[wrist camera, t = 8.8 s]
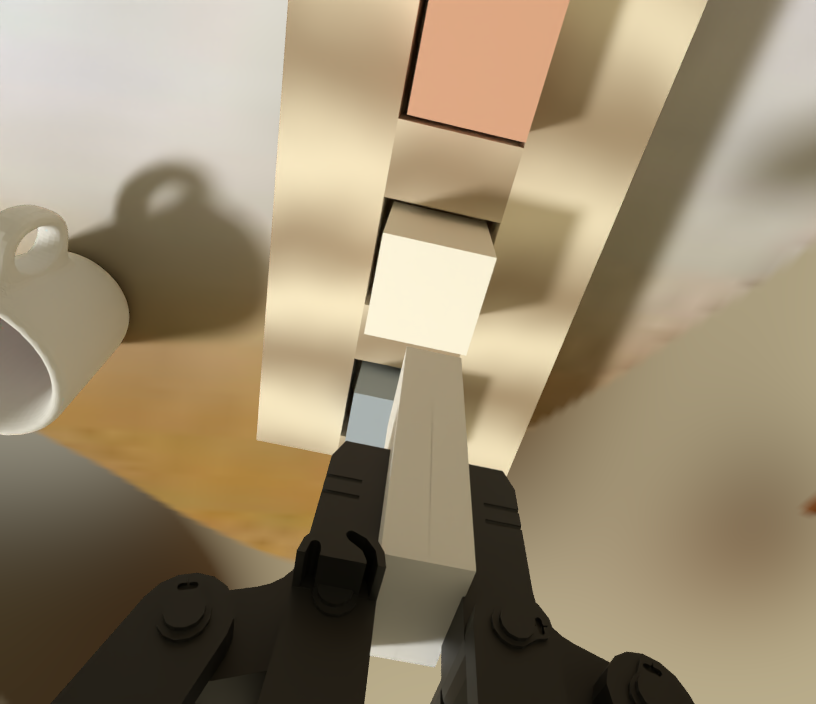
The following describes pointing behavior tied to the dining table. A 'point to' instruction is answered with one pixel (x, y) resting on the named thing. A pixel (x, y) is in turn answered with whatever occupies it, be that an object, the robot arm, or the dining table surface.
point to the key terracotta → (485, 63)
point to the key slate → (372, 404)
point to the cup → (50, 320)
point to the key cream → (430, 278)
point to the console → (447, 203)
